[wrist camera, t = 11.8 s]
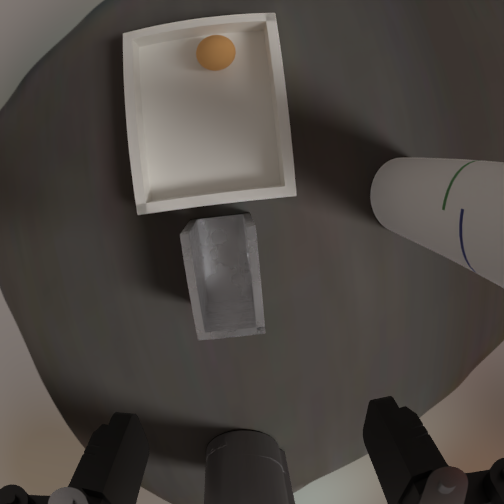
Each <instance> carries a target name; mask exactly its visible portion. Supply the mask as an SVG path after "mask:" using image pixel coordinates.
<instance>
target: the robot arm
mask: <svg viewBox="0 0 504 504" xmlns="http://www.w3.org/2000/svg"><path fill="white" fill-rule="evenodd" d="M363 439H364V443H365V446H366V449H367V451H368V454H369V456H370V458H371V461H372V464H373V466H374V469H375V471H376V474H377V476H378V479H379V482H380V484H381V487H382V489H383V492H384V495H385V497H386V500H387V502H388V504H504V458H501V459H499V460H497V461H496V462H495V463H494V464H493V466H492V467H491V468H490V470H485V471H479V472H473V473H464V472H463V471H462V470H460V469H458V468H456V467H451V466H448V465H447V463H446V462H445V460H444V458H443V456H442V455H441V453H440V451H439V450H438V448H437V446H436V445H435V443H434V441H433V440H432V438H431V437H430V435H428V432H427V430H426V428H425V427H424V426H423V424H422V422H421V420H420V419H419V417H418V416H417V414H416V413H414V412H413V411H412V410H410V409H409V408H407V407H406V406H405V407H401V408H399V407H398V405H397V403H396V402H395V400H394V398H393V397H392V396H388V397H383V398H379V399H374V400H370V402H369V405H368V409H367V414H366V419H365V423H364V427H363ZM148 457H149V443H148V440H147V438H146V435H145V433H144V431H143V428H142V426H141V423H140V421H139V418H138V416H137V415H136V414H130V413H119V412H115V413H114V414H113V416H112V418H111V420H110V423H109V425H105V424H102V425H101V426H100V427H99V428H98V429H97V430H96V431H95V432H94V433H93V435H92V437H91V439H90V441H89V443H88V446H87V447H86V449H85V451H84V454H83V455H82V458H81V460H80V462H79V464H78V466H77V468H76V471H75V473H74V475H73V477H72V479H71V482H70V484H69V486H68V487H64V488H60V489H58V490H56V491H55V492H53V493H52V495H51V496H37V495H28V494H27V493H26V492H25V490H24V489H23V488H21V487H20V486H17V485H7V486H4V487H3V488H2V489H0V504H136V501H137V497H138V493H139V490H140V486H141V482H142V479H143V475H144V471H145V468H146V464H147V460H148ZM204 504H295V501H294V496H293V491H292V486H291V481H290V476H289V471H288V466H287V461H286V456H285V452H284V451H282V450H280V449H279V447H278V444H277V442H276V441H275V440H274V439H273V438H272V437H270V436H268V435H266V434H264V433H260V432H256V431H241V430H240V431H232V432H228V433H224V434H222V435H219V436H217V437H216V438H214V439H213V440H212V441H211V442H210V443H209V444H208V446H207V450H206V469H205V492H204Z"/></svg>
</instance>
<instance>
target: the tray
mask: <svg viewBox="0 0 504 504" xmlns="http://www.w3.org/2000/svg"><path fill="white" fill-rule="evenodd" d="M211 35H222V36H225V37H227V38H228V39H230V40H231V41H232V42H233V44H234V46H235V50H236V54H235V58H234V60H233V62H232V63H231V64H230V65H229V66H228V67H226V68H225V69H222V70H218V71H212V70H208V69H206V68H204V67H203V66H201V65H200V63H199V62H198V60H197V57H196V50H197V47H198V45H199V43H200V42H201V41H202V40H203V39H204V38H206V37H208V36H211ZM123 72H124V95H125V111H126V124H127V135H128V146H129V155H130V164H131V172H132V180H133V188H134V195H135V202H136V209H137V215H142V214H149V213H156V212H163V211H170V210H177V209H185V208H192V207H200V206H208V205H216V204H224V203H233V202H242V201H251V200H260V199H270V198H280V197H291V196H297V195H296V183H295V171H294V160H293V150H292V140H291V130H290V121H289V112H288V103H287V94H286V86H285V78H284V70H283V63H282V55H281V48H280V41H279V34H278V28H277V21H276V15H275V13H254V14H237V15H225V16H215V17H206V18H198V19H191V20H185V21H179V22H173V23H167V24H162V25H157V26H152V27H148V28H143V29H139V30H135V31H131V32H127V33H123Z"/></svg>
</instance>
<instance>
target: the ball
mask: <svg viewBox="0 0 504 504" xmlns="http://www.w3.org/2000/svg"><path fill="white" fill-rule="evenodd" d="M235 54H236V50H235V46H234V44H233V42H232V41H231V40H230V39H228V38H227V37H225V36H222V35H211V36H208V37H206V38H204V39H203V40H202V41H201V42H200V43H199V45H198V47H197V50H196V57H197V60H198V62H199V63H200V65H201V66H203V67H204V68H206V69H208V70H212V71H218V70H222V69H225V68H226V67H228V66H229V65H230V64H231V63H232V62H233V60H234V58H235Z"/></svg>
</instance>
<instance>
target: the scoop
mask: <svg viewBox="0 0 504 504" xmlns="http://www.w3.org/2000/svg"><path fill="white" fill-rule="evenodd" d="M180 240H181V246H182V253H183V259H184V265H185V271H186V277H187V283H188V289H189V294H190V300H191V305H192V311H193V316H194V321H195V326H196V331H197V336H198V340H207V339H218V338H228V337H238V336H247V335H256V334H264V333H265V322H264V311H263V300H262V289H261V278H260V267H259V257H258V246H257V235H256V226H255V223H254V221H253V219H252V216H251V214H250V213H243V214H234V215H225V216H216V217H207V218H199V219H191V220H190V221H189V222H188V224H187V225H186V227H185V228H184V229H183V231H182V232H181V234H180Z"/></svg>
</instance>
